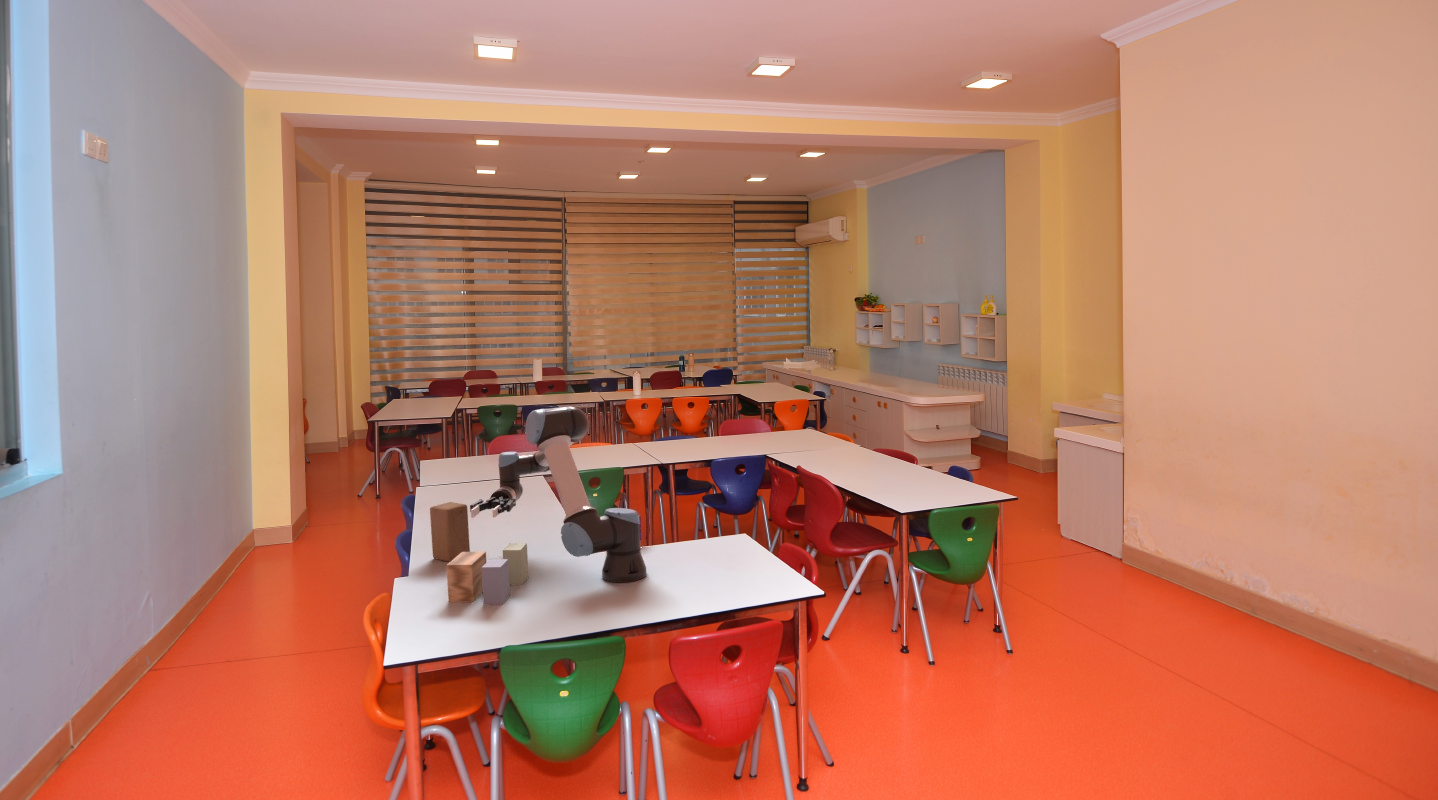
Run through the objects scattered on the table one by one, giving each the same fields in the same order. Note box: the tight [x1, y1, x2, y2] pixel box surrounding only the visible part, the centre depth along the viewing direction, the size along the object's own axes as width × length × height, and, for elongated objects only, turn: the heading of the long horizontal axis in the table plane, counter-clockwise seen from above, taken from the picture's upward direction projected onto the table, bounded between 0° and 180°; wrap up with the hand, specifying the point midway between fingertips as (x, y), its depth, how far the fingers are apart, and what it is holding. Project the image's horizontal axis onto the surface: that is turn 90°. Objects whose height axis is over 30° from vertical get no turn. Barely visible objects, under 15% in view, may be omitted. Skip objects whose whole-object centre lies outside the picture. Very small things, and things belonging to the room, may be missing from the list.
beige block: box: [502, 542, 530, 586], centre depth 265 cm, size 6×8×12 cm
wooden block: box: [429, 501, 471, 563], centre depth 294 cm, size 10×10×20 cm
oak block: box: [446, 551, 488, 603], centre depth 254 cm, size 8×14×12 cm, turn 179°
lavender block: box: [482, 558, 511, 606], centre depth 247 cm, size 6×8×12 cm
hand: (482, 513), depth 270 cm, fingers open, 7 cm apart
